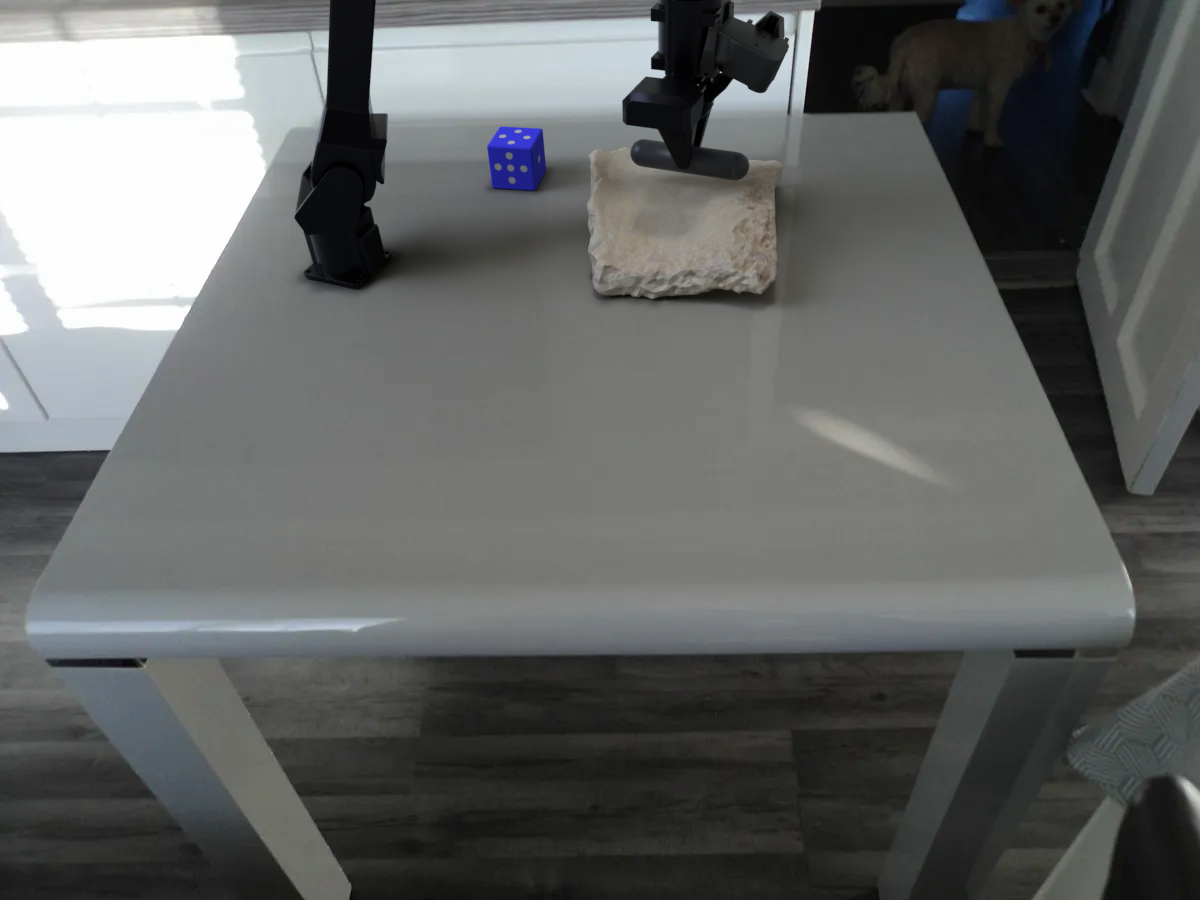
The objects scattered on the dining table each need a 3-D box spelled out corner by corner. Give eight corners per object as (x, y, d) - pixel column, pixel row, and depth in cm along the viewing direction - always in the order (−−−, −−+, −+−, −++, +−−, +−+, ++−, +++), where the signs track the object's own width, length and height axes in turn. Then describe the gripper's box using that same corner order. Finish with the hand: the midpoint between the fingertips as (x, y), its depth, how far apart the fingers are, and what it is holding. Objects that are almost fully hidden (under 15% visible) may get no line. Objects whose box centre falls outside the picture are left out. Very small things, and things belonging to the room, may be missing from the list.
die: (535, 191, 100) (531, 148, 97) (492, 188, 101) (486, 145, 97) (546, 170, 104) (542, 128, 100) (504, 167, 104) (499, 125, 101)
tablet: (559, 303, 85) (775, 303, 81) (546, 231, 81) (775, 226, 76) (610, 188, 103) (789, 183, 98) (601, 123, 98) (790, 114, 94)
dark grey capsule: (626, 169, 90) (625, 144, 88) (636, 157, 92) (635, 133, 90) (743, 187, 86) (745, 161, 84) (751, 174, 88) (753, 149, 86)
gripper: (752, 37, 69) (740, 221, 80) (810, -36, 81) (793, 132, 92) (617, 23, 72) (622, 202, 83) (692, -44, 85) (688, 119, 95)
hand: (687, 162), depth 88 cm, fingers closed on dark grey capsule, 2 cm apart
